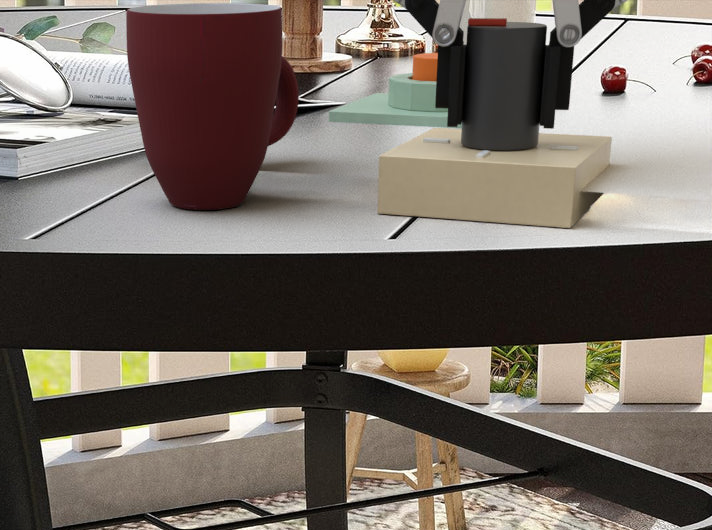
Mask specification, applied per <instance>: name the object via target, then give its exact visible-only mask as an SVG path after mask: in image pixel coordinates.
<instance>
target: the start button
mask: <svg viewBox="0 0 712 530" xmlns="http://www.w3.org/2000/svg"><path fill="white" fill-rule="evenodd" d="M437 60H438V52H427V53H425V52H424V53H416V54H413V55H412V72H411V73H412V80H419V81H436V80H437Z"/></svg>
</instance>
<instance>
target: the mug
mask: <svg viewBox="0 0 712 530" xmlns="http://www.w3.org/2000/svg"><path fill="white" fill-rule="evenodd" d="M125 19H126V20H125V21H126V22H125V23H126V25H125V27H126V28H125V29H126V30H125V32H126V57H127V66H128V72H129V78H130V83H131V88H132V93H133V99H134V104H135V109H136V113H137V119H138V124H139V130H140V134H141V138H142V144H143V148H144V152H145V156H146V159H147V161H148V164H149V167H150V169H151V170H152V172H153V175H154V176H155V178H156V180H157V182H158V184H159V185H160V188H161V190H162V191H163V193H164V195H165V197H166V199H167V201H168V203H170V205H171V206H173V207H176V208H179V209H182V210H184V209H185V210H193V211H195V210H196V211H216V210H226V209H231V208H232V209H233V208H235V207H238V206H240V205H242V204H244V202H245V200H246V198H247V196H248V194H249V193H250V190H251V188H252V186H253V184H254V183H255V180H256V179H257V176H258V174H259V172H260V170H261V168H262V165H263V163H264V161H265V157H266V155H267V151H268V147H270V146H272V145H274V144H277V143H278V142H279V141H280V140H282V139H283V138H284V137H285V136H286V135H287V134H288V133H289V131H291V128H292V126H293V125H294V123H295V119H296V117H297V113H298V109H299V100H300V99H299V98H300V97H299V96H300V93H299V84H298V80H297V76H296V73H295V71H294V69H293V66H292V65H291V64H290V62H289V61H288V60H287V59H286V57H284V56H283V10H282V7H281V6H278V5H273V4H262V3H261V4H260V3H234V2H233V3H232V2H202V3H201V2H200V3H198V2H197V3H169V4H168V3H167V4H154V5H143V6H134V7H130V8H127V9H126V14H125Z"/></svg>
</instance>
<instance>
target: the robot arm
mask: <svg viewBox="0 0 712 530" xmlns="http://www.w3.org/2000/svg"><path fill="white" fill-rule="evenodd" d="M393 1H394V2H395V3H397V5H400V6H401V7H402V8H403V9H405V10H406V11H407V12H408V13H409V14H410V16H411V17H413V19H414V20H415V21H416V22H417V23H418V25H420V26H421V27H422V29H424V31H425V32H426V33H427V34H428V35H429V37H431V38H432V40H433V42H434V43H435V44H436V45H437V53H438V60H437V80H436V101H435V108H448V118H447V127H457V126H458V124H460V125H461V123H462V114H463V97H464V79H465V61H466V44H464V43H465V41H464V37H465V36H464V34H465V32H464V30H463V28H461V27H460V26H461V23H462V18H463V15H464V11H465V7H466V2H467V0H439V2H437V0H393ZM627 1H628V0H582V2H580V3H579V0H552V10H553V17H554V25H555V27H554V28H553V29H552V30H551V31H549V33H550V34H549V41H548V44H546V47H545V60H544V73H543V86H542V99H541V112H540V125H539V127H543V129H548V130H549V129H550V130H552V129H555V119H556V111H569V110H570V101H571V91H572V90H571V89H572V78H573V66H574V55H575V54H574V53H575V46H577V45H578V44H579V43H580V41H581V40H582V39H583V38H584V37H585V36H586V35H587V34H588V33H589V32H591V30H593V29H594V28H595V27H596V26H597V25H598V24H599V23H600V22H601V21H602V20H603V19H604V18H606V16H607V15H609V14H610V13H611V12H612V11H613V10H614V9H616V8H618V7H619V6H621V5H622V4H624V3H626V2H627Z"/></svg>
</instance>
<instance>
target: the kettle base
mask: <svg viewBox="0 0 712 530" xmlns="http://www.w3.org/2000/svg"><path fill="white" fill-rule="evenodd" d="M435 101H436V81H419V80H412V72H409V73H398V74H394V75H392V76H389V77H388V92H375V93H373V94H370V95H368V96H365V97H363V98H360V99H357V100H355V101H352V102H349V103H347V104H345V105H344V104H343V105H342V106H339V107H336V108H334V109H331V110H329V111H328V122H329V123H330V122H331V123H346V124H347V123H351V124H366V125H367V124H368V125H369V124H371V125H388V126H389V125H390V126H409V127H410V126H411V127H426V128H449V129H462V123H461V125H460V124H458V126H457V127H447V118H448V108H435Z"/></svg>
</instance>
